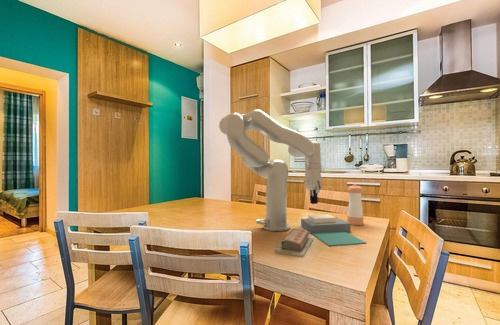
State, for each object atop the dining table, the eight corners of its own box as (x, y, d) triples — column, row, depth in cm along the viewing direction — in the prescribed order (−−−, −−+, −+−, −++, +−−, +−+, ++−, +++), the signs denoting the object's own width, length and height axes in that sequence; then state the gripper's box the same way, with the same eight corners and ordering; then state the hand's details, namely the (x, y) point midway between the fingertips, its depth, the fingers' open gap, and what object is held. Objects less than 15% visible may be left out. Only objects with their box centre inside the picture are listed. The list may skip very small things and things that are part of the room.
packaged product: (288, 226, 99) (313, 229, 95) (288, 238, 99) (313, 241, 95) (274, 239, 83) (303, 243, 79) (274, 253, 83) (303, 258, 79)
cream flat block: (314, 223, 107) (314, 218, 107) (308, 219, 114) (308, 215, 114) (335, 222, 109) (335, 217, 109) (328, 218, 116) (328, 214, 116)
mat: (328, 246, 88) (328, 245, 88) (311, 233, 103) (311, 232, 103) (366, 243, 91) (366, 242, 91) (344, 231, 106) (344, 230, 106)
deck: (311, 233, 103) (311, 225, 103) (301, 226, 115) (301, 218, 115) (350, 231, 106) (350, 223, 106) (336, 224, 118) (336, 217, 118)
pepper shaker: (359, 221, 123) (358, 183, 123) (366, 225, 116) (366, 185, 116) (344, 221, 123) (344, 183, 123) (351, 225, 116) (351, 185, 116)
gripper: (300, 166, 127) (301, 201, 128) (312, 167, 113) (313, 207, 113) (313, 165, 129) (314, 200, 129) (327, 166, 114) (328, 205, 114)
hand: (314, 203), depth 121 cm, fingers closed
